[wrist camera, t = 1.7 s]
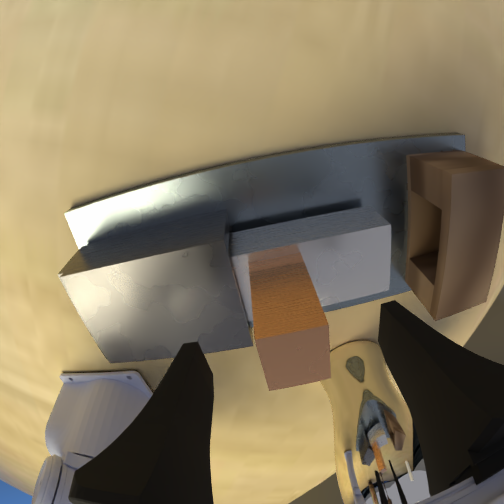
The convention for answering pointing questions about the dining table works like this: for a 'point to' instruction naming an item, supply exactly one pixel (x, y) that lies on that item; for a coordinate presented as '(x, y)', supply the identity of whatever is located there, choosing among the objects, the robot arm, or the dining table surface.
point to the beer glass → (372, 430)
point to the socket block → (452, 229)
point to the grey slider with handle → (306, 285)
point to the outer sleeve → (221, 241)
